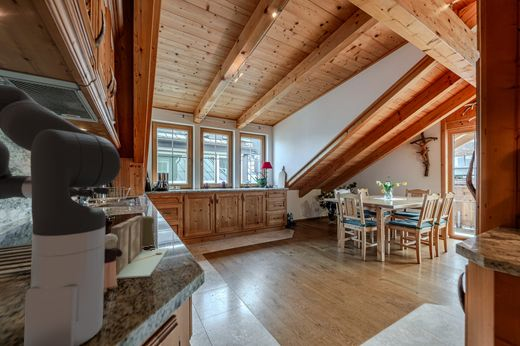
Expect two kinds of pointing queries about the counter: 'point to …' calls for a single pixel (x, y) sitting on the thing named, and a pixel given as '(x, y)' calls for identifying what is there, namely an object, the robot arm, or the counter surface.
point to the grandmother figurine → (111, 262)
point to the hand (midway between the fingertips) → (101, 192)
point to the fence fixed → (121, 244)
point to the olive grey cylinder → (147, 231)
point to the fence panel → (135, 236)
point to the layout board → (143, 264)
